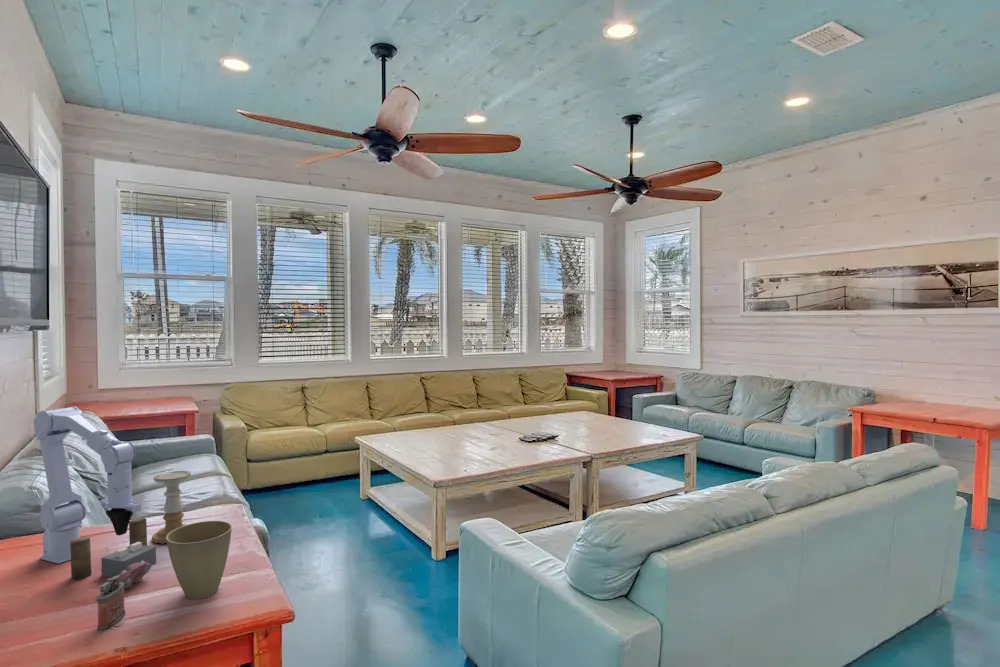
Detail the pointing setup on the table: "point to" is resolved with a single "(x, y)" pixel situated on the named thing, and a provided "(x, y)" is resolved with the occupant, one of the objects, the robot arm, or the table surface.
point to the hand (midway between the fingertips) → (121, 534)
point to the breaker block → (127, 558)
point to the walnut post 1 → (80, 558)
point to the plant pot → (199, 556)
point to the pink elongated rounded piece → (134, 573)
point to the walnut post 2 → (138, 531)
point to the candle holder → (171, 503)
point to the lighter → (110, 603)
